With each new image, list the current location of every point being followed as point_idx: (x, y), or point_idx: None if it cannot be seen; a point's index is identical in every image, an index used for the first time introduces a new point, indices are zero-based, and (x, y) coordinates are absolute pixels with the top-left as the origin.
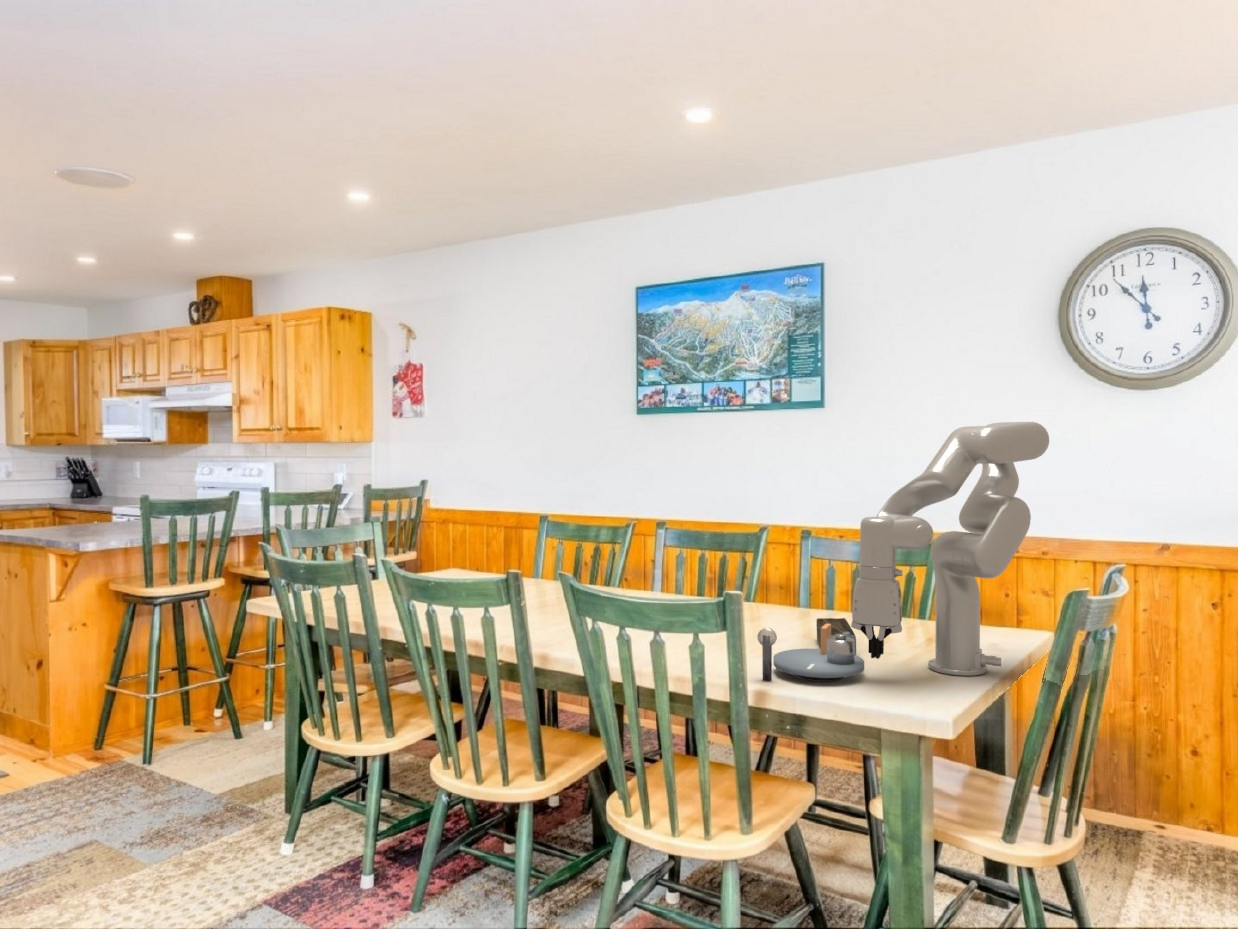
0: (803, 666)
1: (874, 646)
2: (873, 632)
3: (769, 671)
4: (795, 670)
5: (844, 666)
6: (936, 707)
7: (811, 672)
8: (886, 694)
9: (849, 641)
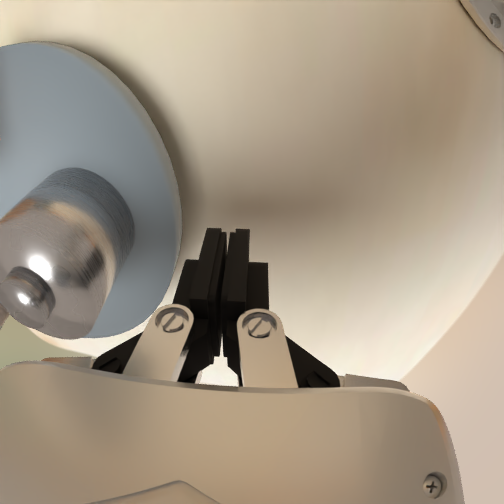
0: None
1: (221, 332)
2: (185, 349)
3: (8, 315)
4: None
5: (125, 285)
6: (393, 356)
7: None
8: (288, 320)
9: (84, 321)
